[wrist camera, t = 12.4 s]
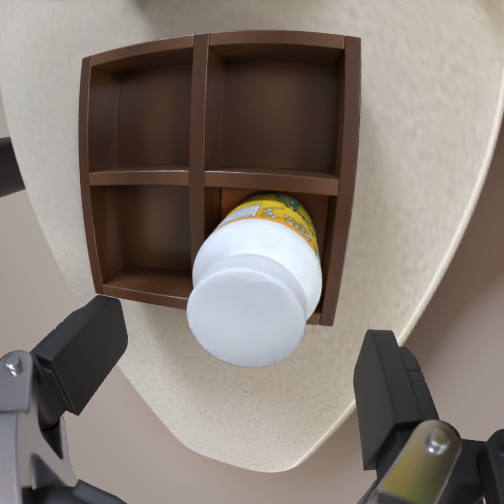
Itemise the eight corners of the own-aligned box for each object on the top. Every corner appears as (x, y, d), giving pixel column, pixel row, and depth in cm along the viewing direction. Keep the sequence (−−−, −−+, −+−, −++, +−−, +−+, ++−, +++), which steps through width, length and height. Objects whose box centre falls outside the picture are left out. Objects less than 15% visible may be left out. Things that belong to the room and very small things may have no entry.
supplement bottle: (213, 213, 18) (136, 284, 10) (291, 174, 17) (280, 213, 8) (253, 285, 20) (217, 393, 11) (329, 253, 18) (349, 356, 9)
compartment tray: (125, 268, 22) (95, 293, 18) (119, 67, 17) (82, 58, 13) (328, 291, 20) (332, 326, 16) (348, 59, 15) (361, 37, 11)
